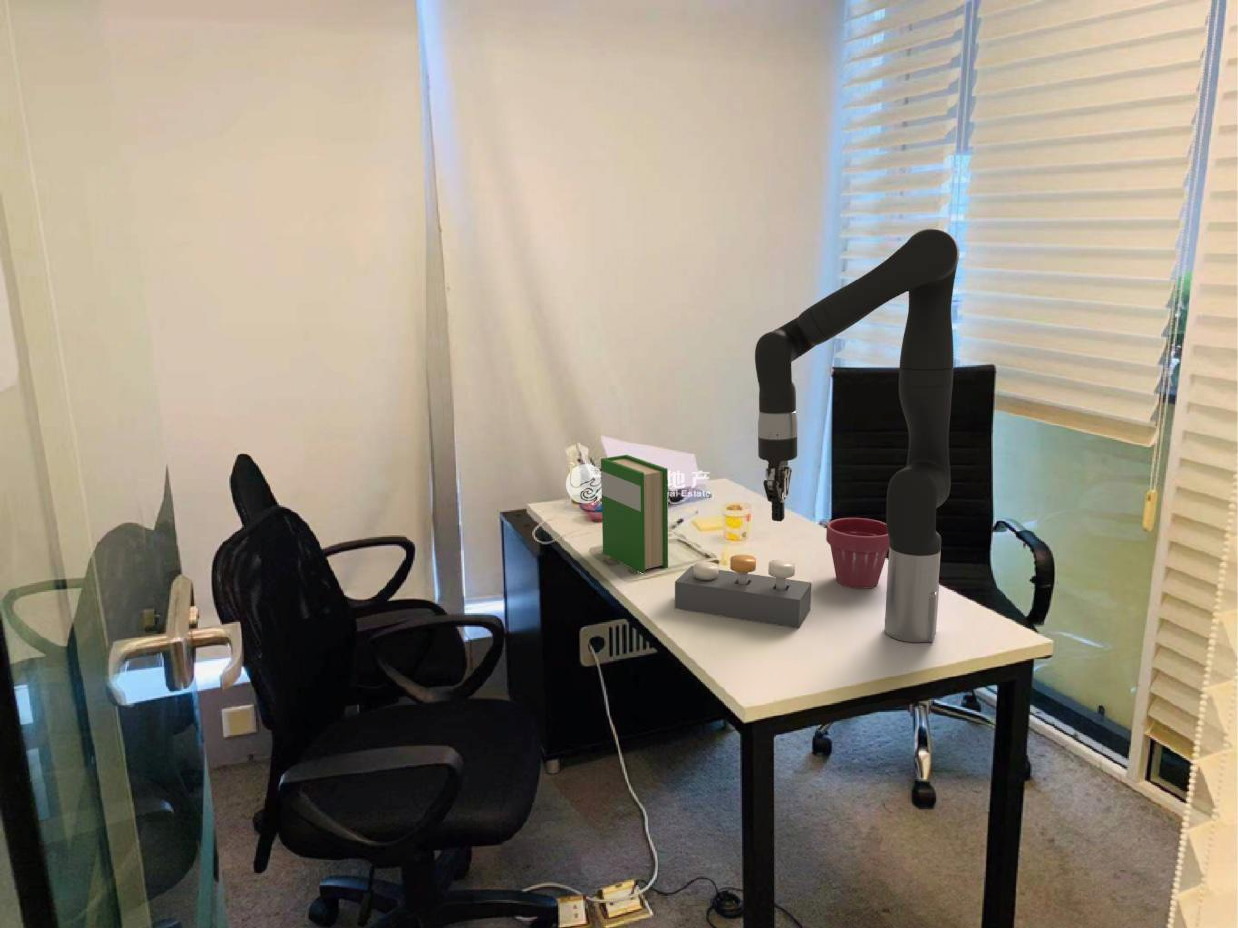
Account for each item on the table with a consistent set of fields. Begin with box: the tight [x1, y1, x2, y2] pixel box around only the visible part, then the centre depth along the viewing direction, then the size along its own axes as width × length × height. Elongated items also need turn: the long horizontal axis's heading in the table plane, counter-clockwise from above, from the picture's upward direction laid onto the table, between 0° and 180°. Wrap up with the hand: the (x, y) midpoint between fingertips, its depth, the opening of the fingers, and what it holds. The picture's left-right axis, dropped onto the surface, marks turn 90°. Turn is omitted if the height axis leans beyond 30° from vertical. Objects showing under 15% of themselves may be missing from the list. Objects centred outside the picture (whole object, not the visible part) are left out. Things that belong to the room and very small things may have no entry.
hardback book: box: [600, 454, 669, 574], centre depth 209 cm, size 18×7×24 cm, turn 31°
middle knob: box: [729, 554, 757, 585], centre depth 180 cm, size 5×5×7 cm
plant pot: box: [825, 517, 889, 589], centre depth 194 cm, size 14×14×13 cm
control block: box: [674, 565, 812, 629], centre depth 181 cm, size 26×10×6 cm, turn 65°
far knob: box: [692, 561, 719, 580], centre depth 184 cm, size 5×5×7 cm
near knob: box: [768, 559, 796, 591], centre depth 177 cm, size 5×5×7 cm
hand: (778, 519), depth 174 cm, fingers closed
